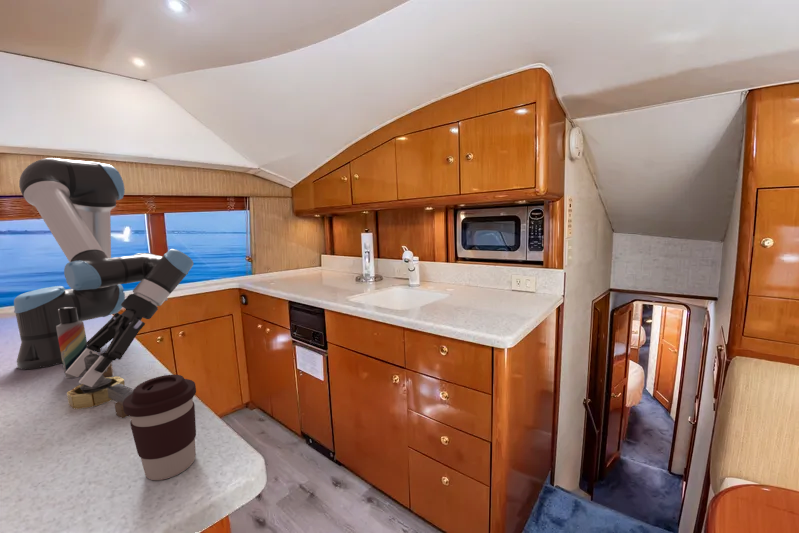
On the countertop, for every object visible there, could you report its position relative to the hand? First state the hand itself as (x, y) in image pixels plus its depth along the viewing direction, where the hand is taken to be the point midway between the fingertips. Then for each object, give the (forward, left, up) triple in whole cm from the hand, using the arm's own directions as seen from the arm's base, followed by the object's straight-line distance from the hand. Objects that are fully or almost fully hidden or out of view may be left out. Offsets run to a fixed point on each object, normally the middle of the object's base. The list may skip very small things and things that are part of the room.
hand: (77, 379), depth 82 cm
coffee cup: (+44, +1, -6) cm, 44 cm away
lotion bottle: (-24, +5, -6) cm, 25 cm away
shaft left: (-13, +8, -6) cm, 16 cm away
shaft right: (+14, +4, -6) cm, 16 cm away
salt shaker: (0, +3, -6) cm, 7 cm away
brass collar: (0, +3, -6) cm, 7 cm away
